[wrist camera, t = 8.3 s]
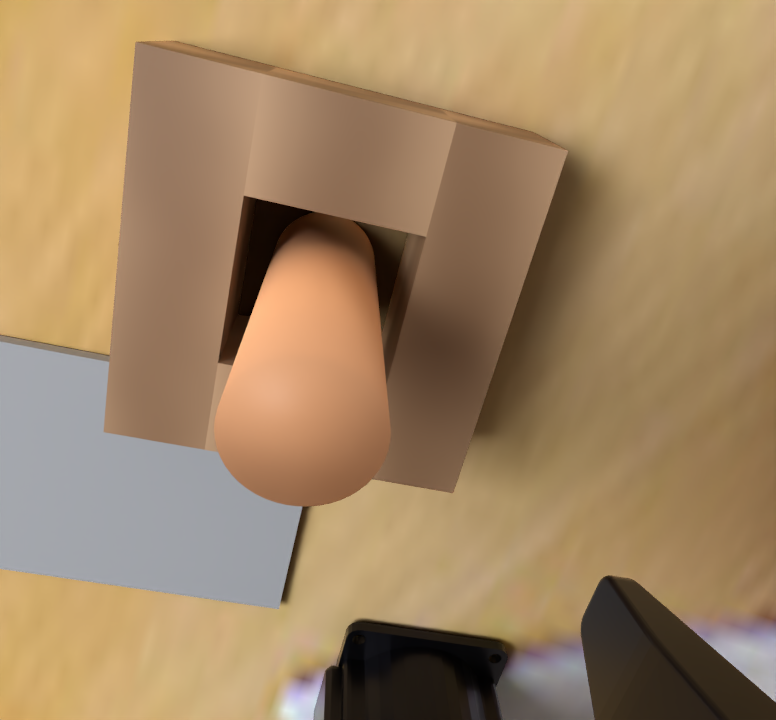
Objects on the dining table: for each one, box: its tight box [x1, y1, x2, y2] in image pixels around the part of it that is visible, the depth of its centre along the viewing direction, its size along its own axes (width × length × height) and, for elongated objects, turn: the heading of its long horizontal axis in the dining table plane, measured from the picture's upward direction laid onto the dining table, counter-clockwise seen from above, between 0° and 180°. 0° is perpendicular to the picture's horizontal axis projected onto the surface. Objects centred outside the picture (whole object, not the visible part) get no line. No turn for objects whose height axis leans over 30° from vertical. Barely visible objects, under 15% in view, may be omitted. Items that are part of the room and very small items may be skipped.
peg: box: [214, 212, 391, 506], centre depth 16 cm, size 3×3×10 cm
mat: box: [0, 335, 302, 609], centre depth 24 cm, size 12×9×1 cm
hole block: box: [103, 41, 568, 493], centre depth 19 cm, size 10×10×4 cm
